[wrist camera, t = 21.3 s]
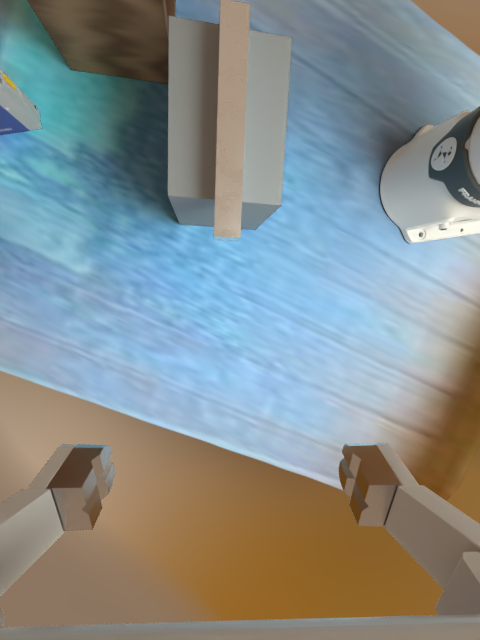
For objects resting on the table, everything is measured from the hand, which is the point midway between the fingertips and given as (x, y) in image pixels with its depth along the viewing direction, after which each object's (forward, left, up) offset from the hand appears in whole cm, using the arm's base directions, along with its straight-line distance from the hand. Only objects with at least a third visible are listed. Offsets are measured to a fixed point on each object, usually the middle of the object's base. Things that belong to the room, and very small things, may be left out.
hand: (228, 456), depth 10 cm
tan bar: (-1, -20, -21) cm, 30 cm away
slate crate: (-1, -22, -36) cm, 43 cm away
